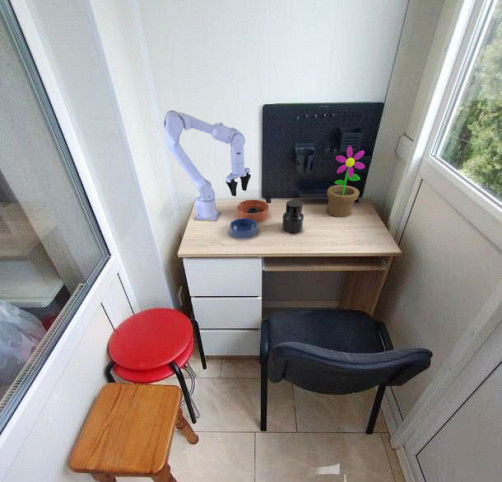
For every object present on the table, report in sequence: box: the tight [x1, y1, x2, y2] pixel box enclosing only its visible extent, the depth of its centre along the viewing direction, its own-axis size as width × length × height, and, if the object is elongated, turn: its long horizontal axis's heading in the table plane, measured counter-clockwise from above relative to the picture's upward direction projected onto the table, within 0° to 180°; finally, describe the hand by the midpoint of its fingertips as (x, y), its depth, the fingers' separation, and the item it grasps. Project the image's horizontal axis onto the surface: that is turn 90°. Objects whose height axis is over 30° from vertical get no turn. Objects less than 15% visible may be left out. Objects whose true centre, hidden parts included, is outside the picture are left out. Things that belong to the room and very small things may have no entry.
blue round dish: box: [229, 218, 259, 239], centre depth 124 cm, size 12×12×4 cm
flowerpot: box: [326, 145, 366, 218], centre depth 127 cm, size 14×14×30 cm
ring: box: [248, 208, 258, 214], centre depth 134 cm, size 5×5×3 cm
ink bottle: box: [281, 199, 305, 234], centre depth 122 cm, size 10×9×12 cm
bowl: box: [236, 199, 270, 224], centre depth 134 cm, size 15×15×5 cm
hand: (239, 193), depth 132 cm, fingers open, 7 cm apart
